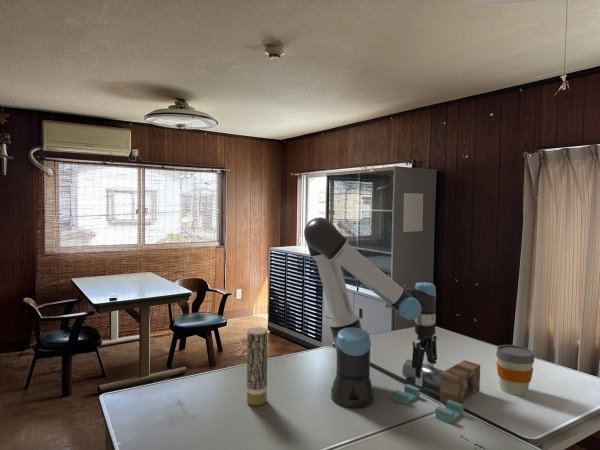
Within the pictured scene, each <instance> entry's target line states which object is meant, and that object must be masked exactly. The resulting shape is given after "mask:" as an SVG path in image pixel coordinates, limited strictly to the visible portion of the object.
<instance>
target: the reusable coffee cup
mask: <svg viewBox="0 0 600 450" xmlns="http://www.w3.org/2000/svg"><path fill="white" fill-rule="evenodd" d="M495 355H496V358H497V361H496V369H497V375H498V377H499V387H500V390H501V391H503V392H504V393H506V394H510V395H513V396H518V397H520V396H521V397H522V396H526V395H528V392H529V387H530V382H531V381H532V378H533V373H534V367H533V366H534V363H535V352H534V351H533V350H532V349H529V348H527V347H524V346H520V345H514V344H513V345H512V344H501V345H498V346H497V347H496V354H495Z"/></svg>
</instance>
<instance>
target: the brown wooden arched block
mask: <svg viewBox="0 0 600 450" xmlns="http://www.w3.org/2000/svg"><path fill="white" fill-rule="evenodd" d="M443 371H444V372H442V373H441V389H440V390H439V392H440V393H439V394H440V397H439V399H440V400H439V401H440V402H441V403H444V404H446V401H448V400H452V401H454V402H457V403H460V404H462V403H463V404H464V400H465V399H464V380H465V379H467V378H468V379H470V381H471V390H470V393H469V395H470V394H472V395H471V396H473V395H474V396H476V395H477V394H478V393H479V391H480V388H481V387H480V386H481V385H480V384H481V379H480V378H481V364H478V363H476V362H471V361H468V360H462V361H460V362H458V363H457V364H454V365H453V366H451V367H449V368H447V369H446V370H443ZM477 392H478V393H477ZM476 393H477V394H476ZM463 404H462V405H463Z"/></svg>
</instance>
